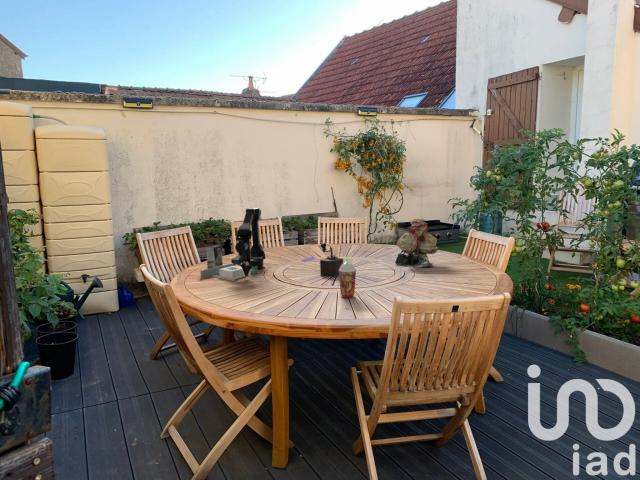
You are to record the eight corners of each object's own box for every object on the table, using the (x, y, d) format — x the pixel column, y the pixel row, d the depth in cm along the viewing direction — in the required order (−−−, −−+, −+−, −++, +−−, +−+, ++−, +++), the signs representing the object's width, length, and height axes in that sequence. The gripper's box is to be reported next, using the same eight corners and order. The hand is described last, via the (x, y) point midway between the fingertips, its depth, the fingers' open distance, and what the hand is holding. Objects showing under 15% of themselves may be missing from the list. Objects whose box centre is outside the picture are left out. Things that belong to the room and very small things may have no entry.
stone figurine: (393, 267, 279) (393, 220, 274) (402, 258, 305) (402, 216, 301) (434, 270, 269) (435, 221, 264) (440, 261, 296) (441, 216, 291)
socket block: (233, 273, 268) (233, 265, 268) (246, 275, 262) (245, 267, 261) (219, 277, 260) (219, 269, 259) (232, 279, 253) (232, 271, 252)
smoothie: (338, 294, 219) (337, 255, 216) (354, 294, 220) (354, 254, 217) (340, 299, 211) (339, 258, 208) (357, 298, 212) (357, 258, 209)
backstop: (233, 270, 279) (233, 262, 278) (257, 274, 267) (257, 266, 266) (200, 278, 258) (200, 270, 258) (225, 283, 246) (224, 274, 245)
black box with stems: (344, 273, 265) (344, 244, 262) (334, 277, 256) (334, 246, 253) (323, 270, 273) (322, 242, 271) (312, 274, 264) (312, 244, 262)
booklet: (330, 265, 290) (330, 264, 290) (301, 261, 305) (301, 260, 305) (340, 262, 300) (340, 261, 300) (312, 258, 315) (312, 257, 315)
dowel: (254, 273, 270) (253, 260, 269) (258, 273, 267) (258, 261, 266) (249, 274, 267) (248, 261, 265) (254, 275, 264) (253, 262, 263)
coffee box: (216, 273, 272) (215, 247, 269) (207, 272, 274) (205, 247, 271) (223, 269, 281) (222, 245, 278) (214, 269, 282) (213, 244, 280)
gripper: (223, 250, 250) (224, 276, 253) (246, 253, 240) (247, 281, 242) (237, 247, 259) (239, 273, 262) (260, 250, 248) (261, 277, 251)
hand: (246, 276), depth 254 cm, fingers closed
